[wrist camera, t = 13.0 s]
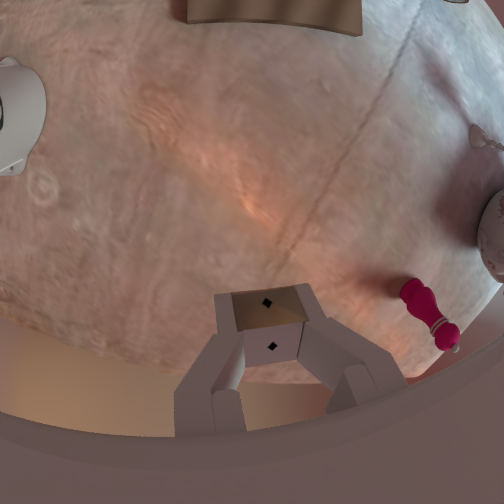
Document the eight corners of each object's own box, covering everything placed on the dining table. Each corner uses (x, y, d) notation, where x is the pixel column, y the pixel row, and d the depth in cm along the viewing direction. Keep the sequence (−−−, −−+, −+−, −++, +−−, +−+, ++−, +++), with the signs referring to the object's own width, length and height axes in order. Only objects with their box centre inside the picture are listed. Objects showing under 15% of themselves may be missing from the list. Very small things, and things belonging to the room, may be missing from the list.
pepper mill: (395, 288, 55) (444, 355, 39) (420, 271, 54) (472, 333, 37) (400, 305, 59) (443, 367, 42) (423, 288, 58) (468, 347, 41)
